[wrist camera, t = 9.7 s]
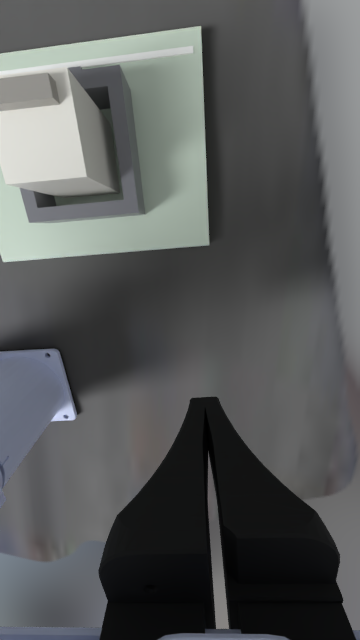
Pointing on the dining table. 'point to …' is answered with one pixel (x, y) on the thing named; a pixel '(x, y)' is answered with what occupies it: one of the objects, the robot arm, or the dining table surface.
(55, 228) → the board
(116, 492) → the dining table surface
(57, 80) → the plug
